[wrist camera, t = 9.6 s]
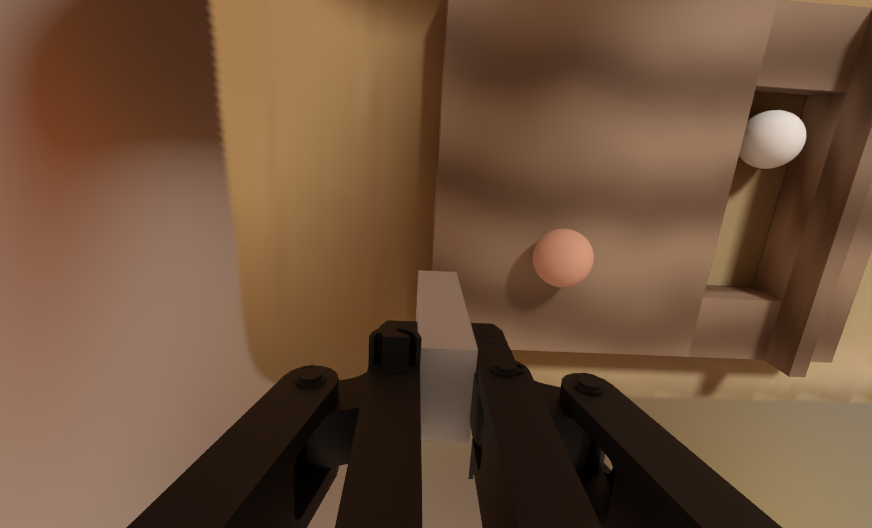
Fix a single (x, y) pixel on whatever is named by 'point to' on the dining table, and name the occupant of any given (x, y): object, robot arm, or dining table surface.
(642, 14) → the board
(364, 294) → the dining table surface
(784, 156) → the ball white
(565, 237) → the ball terracotta
